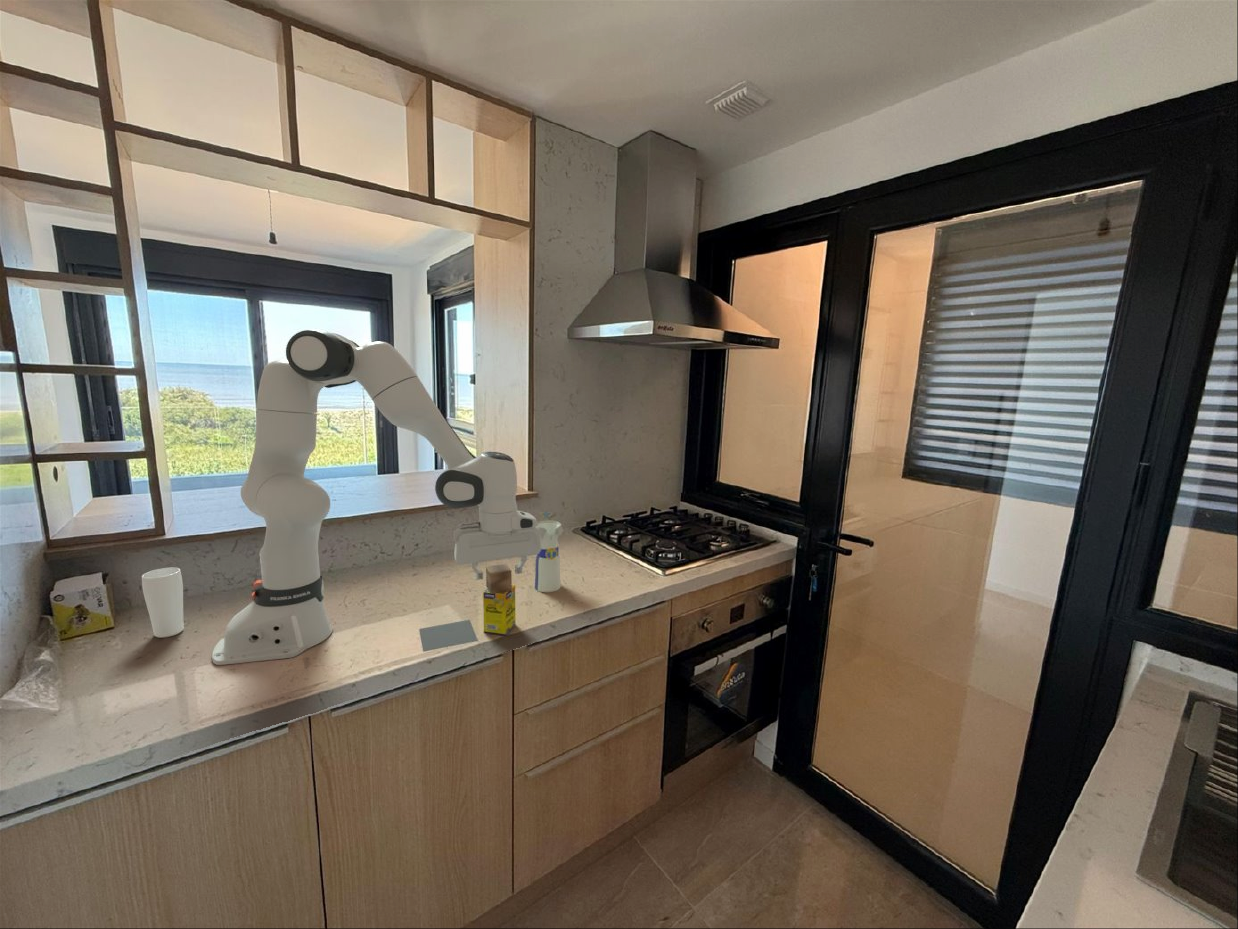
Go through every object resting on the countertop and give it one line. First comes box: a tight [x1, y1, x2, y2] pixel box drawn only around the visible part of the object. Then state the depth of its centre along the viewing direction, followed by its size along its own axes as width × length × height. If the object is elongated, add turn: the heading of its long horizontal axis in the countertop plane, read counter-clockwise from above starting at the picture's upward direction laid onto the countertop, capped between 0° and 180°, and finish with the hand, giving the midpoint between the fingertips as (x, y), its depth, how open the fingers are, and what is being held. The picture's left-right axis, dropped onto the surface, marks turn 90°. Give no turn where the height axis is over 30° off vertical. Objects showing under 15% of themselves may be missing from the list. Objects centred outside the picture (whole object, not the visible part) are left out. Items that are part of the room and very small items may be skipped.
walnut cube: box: [485, 563, 513, 594], centre depth 120 cm, size 5×5×5 cm
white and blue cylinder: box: [534, 509, 564, 593], centre depth 146 cm, size 8×9×25 cm
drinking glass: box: [141, 566, 185, 639], centre depth 116 cm, size 7×7×15 cm
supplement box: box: [482, 584, 516, 637], centre depth 121 cm, size 6×6×11 cm
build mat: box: [418, 619, 479, 652], centre depth 119 cm, size 12×11×1 cm
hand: (499, 575), depth 120 cm, fingers open, 8 cm apart
